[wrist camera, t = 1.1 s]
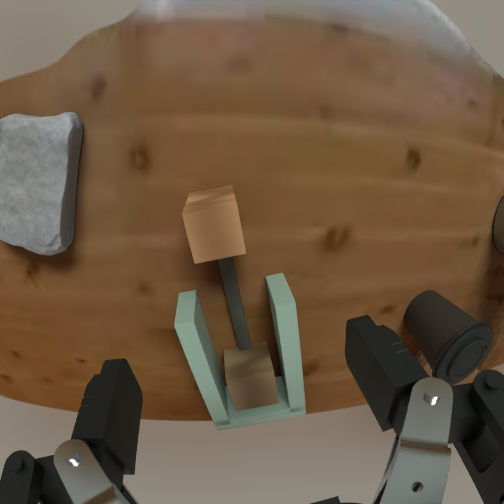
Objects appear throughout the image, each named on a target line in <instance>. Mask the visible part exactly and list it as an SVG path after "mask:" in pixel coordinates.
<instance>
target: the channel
mask: <svg viewBox="0 0 504 504" xmlns="http://www.w3.org/2000/svg"><path fill="white" fill-rule="evenodd" d="M266 282H267V289H268V295H269V301H270V307H271V313H272V319H273V326H274V332H275V338H276V344H277V351H278V357H279V363H280V369H281V376H279V377H275V380H276V386H277V392H278V397H279V403H277V404H272V405H267V406H262V407H257V408H251V409H245V410H240V411H236V409H235V406H234V403H233V400H232V397H231V394H230V391H229V388H228V386H226V384H225V381H224V378H223V375H222V372H221V369H220V366H219V363H218V360H217V357H216V354H215V351H214V348H213V344H212V341H211V338H210V335H209V331H208V328H207V325H206V322H205V318H204V315H203V312H202V308H201V305H200V301H199V298H198V295H197V291H196V290H192V291H186V292H181V293H179V298H178V304H177V310H176V316H175V323H174V326H175V329H176V331H177V334H178V337H179V339H180V342H181V345H182V347H183V350H184V353H185V355H186V358H187V360H188V363H189V365H190V368H191V370H192V373H193V375H194V378H195V380H196V382H197V385H198V387H199V390H200V392H201V394H202V397H203V399H204V401H205V404H206V406H207V408H208V410H209V413H210V415H211V417H212V419H213V422H214V424H215V426H216V428H217V430H222V429H229V428H236V427H242V426H247V425H254V424H259V423H265V422H270V421H274V420H279V419H285V418H288V417H294V416H298V415H302V414H306V407H305V395H304V384H303V373H302V362H301V351H300V341H299V331H298V322H297V313H296V303H295V300H294V298H293V295H292V293H291V291H290V288H289V286H288V284H287V281H286V279H285V277H284V274H283V273H279V274H274V275H269V276H266Z"/></svg>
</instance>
